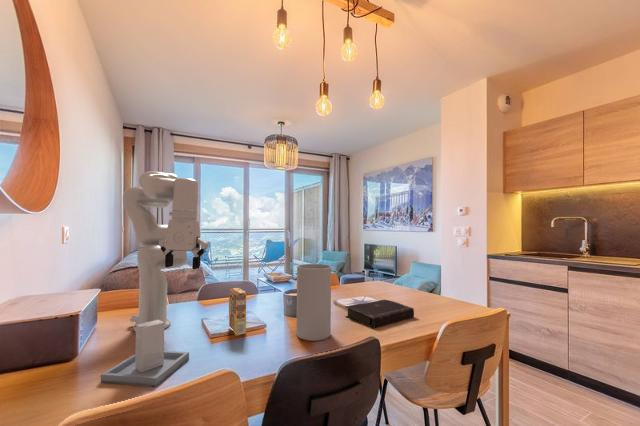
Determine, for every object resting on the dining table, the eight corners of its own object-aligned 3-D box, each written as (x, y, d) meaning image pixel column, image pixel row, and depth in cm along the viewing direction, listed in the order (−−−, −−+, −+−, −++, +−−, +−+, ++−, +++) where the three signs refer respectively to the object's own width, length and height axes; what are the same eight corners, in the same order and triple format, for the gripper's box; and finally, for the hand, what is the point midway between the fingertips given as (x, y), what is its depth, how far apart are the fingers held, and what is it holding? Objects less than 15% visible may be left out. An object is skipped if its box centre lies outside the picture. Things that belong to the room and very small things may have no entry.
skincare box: (157, 360, 86) (158, 318, 86) (164, 365, 83) (165, 322, 83) (133, 368, 81) (135, 324, 81) (140, 374, 78) (141, 327, 78)
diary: (414, 319, 129) (414, 307, 129) (374, 331, 115) (374, 318, 115) (382, 308, 144) (382, 297, 144) (343, 317, 130) (343, 305, 130)
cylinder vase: (334, 331, 112) (335, 264, 113) (324, 344, 100) (324, 269, 101) (304, 327, 116) (304, 263, 117) (290, 338, 104) (291, 267, 105)
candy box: (246, 333, 108) (247, 291, 109) (235, 336, 106) (235, 293, 107) (238, 326, 116) (239, 287, 116) (227, 328, 113) (228, 288, 114)
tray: (100, 382, 75) (100, 374, 75) (142, 356, 90) (142, 349, 90) (156, 386, 73) (156, 378, 73) (189, 358, 88) (189, 352, 88)
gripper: (153, 215, 95) (150, 268, 95) (202, 217, 93) (200, 271, 93) (168, 215, 103) (166, 264, 103) (214, 217, 100) (212, 267, 100)
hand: (182, 267), depth 98 cm, fingers open, 9 cm apart
